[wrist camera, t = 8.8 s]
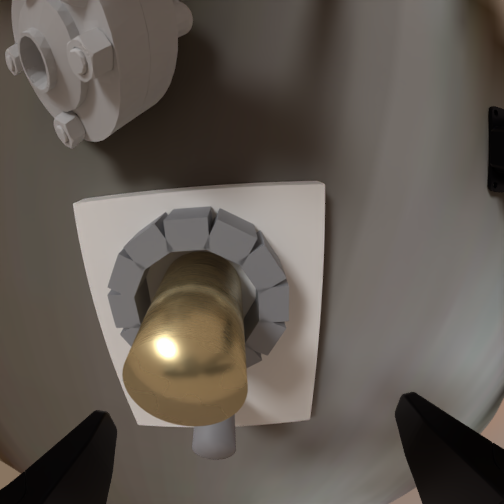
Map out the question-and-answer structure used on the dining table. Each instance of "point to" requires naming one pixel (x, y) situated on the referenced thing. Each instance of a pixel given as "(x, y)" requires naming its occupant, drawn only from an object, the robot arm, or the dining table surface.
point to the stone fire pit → (247, 266)
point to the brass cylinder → (191, 345)
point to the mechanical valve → (96, 59)
